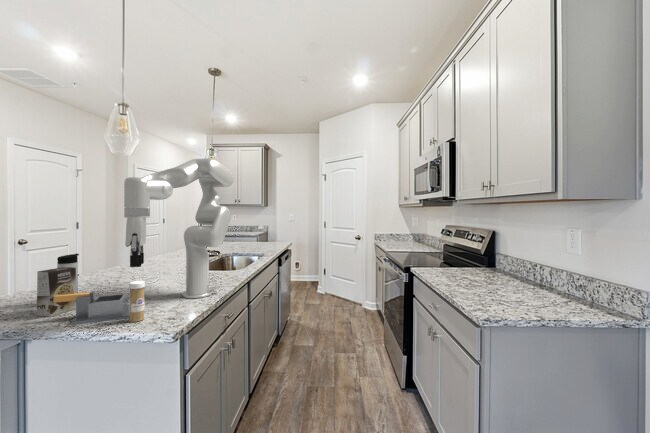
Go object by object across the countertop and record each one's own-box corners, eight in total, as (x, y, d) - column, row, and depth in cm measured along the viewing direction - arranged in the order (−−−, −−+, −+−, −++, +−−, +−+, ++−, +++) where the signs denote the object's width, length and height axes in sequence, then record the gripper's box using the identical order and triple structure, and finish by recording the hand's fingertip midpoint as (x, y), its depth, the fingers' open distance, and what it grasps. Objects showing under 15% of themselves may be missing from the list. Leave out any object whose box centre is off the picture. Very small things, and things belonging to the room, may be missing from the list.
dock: (141, 305, 117) (141, 286, 117) (135, 317, 104) (135, 295, 104) (84, 311, 109) (84, 290, 109) (71, 325, 97) (71, 301, 97)
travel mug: (80, 303, 119) (80, 254, 118) (58, 307, 114) (58, 256, 113) (77, 299, 123) (77, 252, 122) (56, 303, 118) (56, 254, 118)
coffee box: (51, 317, 103) (50, 272, 103) (36, 315, 104) (35, 271, 104) (76, 308, 112) (76, 267, 112) (62, 307, 113) (62, 266, 113)
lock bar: (95, 297, 106) (95, 290, 106) (93, 299, 104) (93, 292, 104) (56, 301, 101) (56, 293, 101) (53, 303, 99) (53, 295, 99)
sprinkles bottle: (136, 323, 99) (136, 283, 99) (125, 321, 100) (125, 282, 100) (147, 318, 104) (147, 280, 103) (137, 316, 105) (137, 279, 105)
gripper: (129, 212, 107) (128, 262, 108) (118, 213, 92) (118, 271, 92) (152, 213, 111) (152, 260, 111) (146, 213, 95) (146, 269, 96)
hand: (137, 264), depth 102 cm, fingers open, 4 cm apart
